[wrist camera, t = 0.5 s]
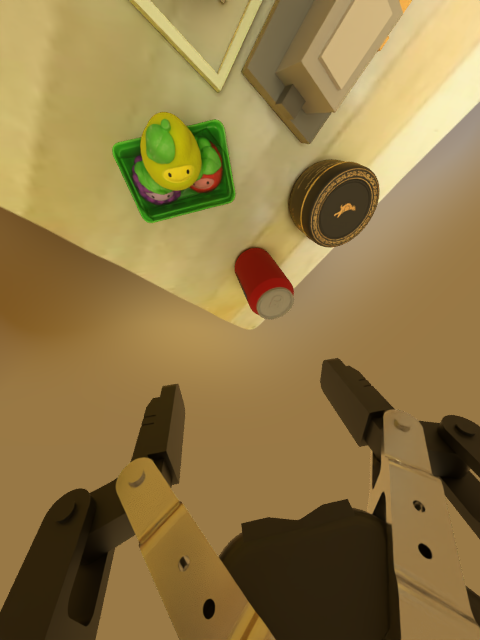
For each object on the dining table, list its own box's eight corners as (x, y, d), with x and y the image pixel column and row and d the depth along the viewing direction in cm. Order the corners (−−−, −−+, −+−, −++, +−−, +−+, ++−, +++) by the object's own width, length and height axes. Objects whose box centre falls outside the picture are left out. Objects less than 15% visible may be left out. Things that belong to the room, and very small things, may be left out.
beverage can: (230, 279, 40) (247, 323, 31) (237, 243, 35) (260, 282, 27) (263, 281, 42) (288, 323, 33) (275, 248, 38) (306, 285, 29)
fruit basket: (148, 212, 30) (140, 247, 22) (110, 127, 23) (79, 130, 15) (228, 191, 30) (250, 217, 22) (212, 102, 24) (234, 93, 16)
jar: (273, 194, 32) (295, 209, 26) (333, 137, 29) (371, 141, 23) (302, 241, 38) (325, 262, 33) (354, 198, 35) (388, 213, 30)
